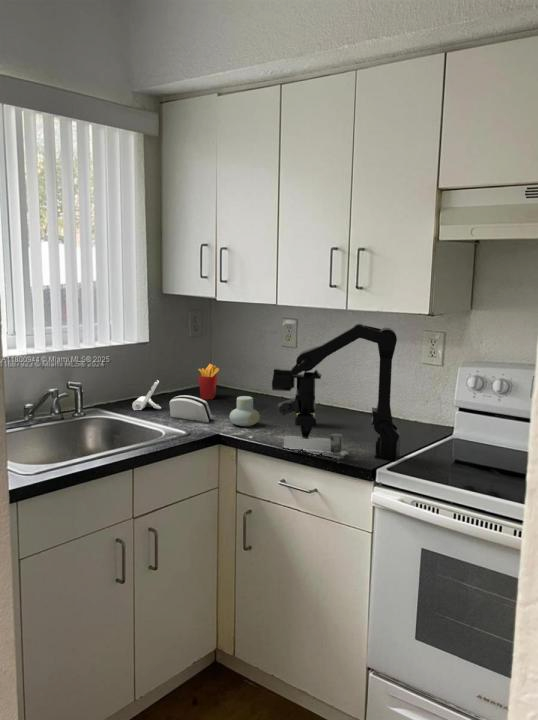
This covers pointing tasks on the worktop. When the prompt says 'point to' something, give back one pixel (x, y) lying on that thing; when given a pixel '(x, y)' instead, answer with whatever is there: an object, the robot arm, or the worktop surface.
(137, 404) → the plastic part
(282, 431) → the worktop surface
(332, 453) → the pivot base
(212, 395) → the french fries
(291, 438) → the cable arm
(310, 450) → the label tile
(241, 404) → the air freshener
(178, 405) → the napkin holder
